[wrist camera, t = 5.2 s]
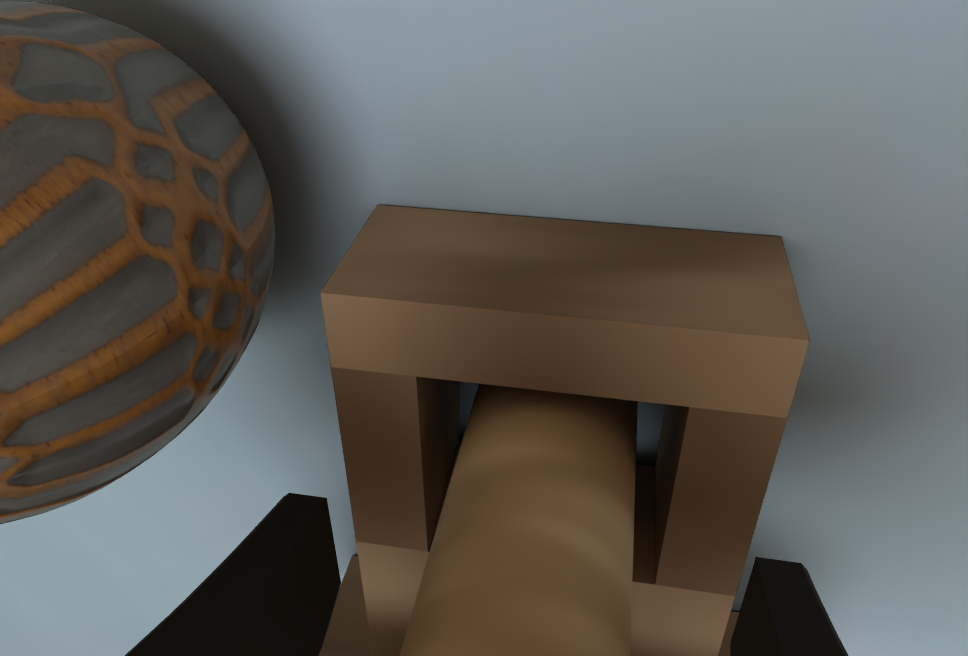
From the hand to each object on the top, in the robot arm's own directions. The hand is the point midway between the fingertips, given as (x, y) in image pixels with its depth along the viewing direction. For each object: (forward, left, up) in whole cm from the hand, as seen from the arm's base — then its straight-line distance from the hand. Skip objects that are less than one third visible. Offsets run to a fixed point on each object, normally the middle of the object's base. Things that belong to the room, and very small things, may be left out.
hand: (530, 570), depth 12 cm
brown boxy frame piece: (0, +2, -5) cm, 5 cm away
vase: (+8, -4, -5) cm, 10 cm away
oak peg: (0, 0, -5) cm, 5 cm away
